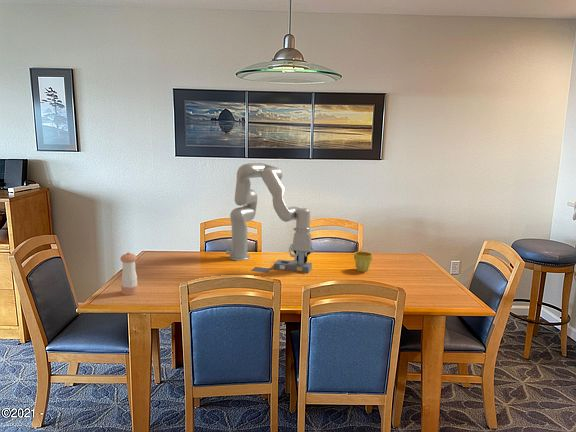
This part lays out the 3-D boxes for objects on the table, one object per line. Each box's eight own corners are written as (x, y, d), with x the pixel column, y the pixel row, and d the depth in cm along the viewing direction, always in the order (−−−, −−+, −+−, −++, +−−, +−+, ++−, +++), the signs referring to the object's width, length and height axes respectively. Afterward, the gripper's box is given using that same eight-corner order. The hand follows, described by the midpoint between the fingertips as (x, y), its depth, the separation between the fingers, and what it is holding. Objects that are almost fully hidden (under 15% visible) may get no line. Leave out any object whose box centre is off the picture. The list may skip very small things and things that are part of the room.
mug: (304, 260, 257) (305, 241, 255) (305, 263, 251) (305, 243, 249) (288, 259, 258) (289, 240, 256) (288, 262, 251) (288, 243, 249)
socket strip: (273, 269, 236) (273, 263, 235) (278, 265, 245) (278, 259, 244) (308, 273, 231) (308, 267, 230) (311, 268, 240) (311, 262, 239)
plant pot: (373, 269, 242) (374, 252, 240) (368, 273, 233) (369, 256, 231) (356, 266, 247) (357, 250, 245) (350, 270, 238) (351, 254, 236)
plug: (298, 266, 235) (298, 250, 233) (299, 265, 238) (300, 248, 236) (303, 267, 234) (304, 250, 233) (305, 265, 237) (305, 249, 236)
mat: (250, 271, 232) (250, 270, 231) (255, 267, 239) (255, 266, 239) (267, 273, 229) (267, 272, 229) (272, 269, 237) (272, 268, 236)
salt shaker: (135, 295, 192) (134, 254, 188) (119, 295, 191) (117, 254, 188) (140, 289, 199) (138, 250, 196) (124, 289, 198) (122, 250, 195)
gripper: (286, 230, 231) (286, 262, 234) (315, 233, 227) (314, 265, 230) (290, 228, 238) (289, 259, 241) (318, 230, 234) (317, 262, 237)
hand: (301, 262), depth 236 cm, fingers closed on plug, 3 cm apart
